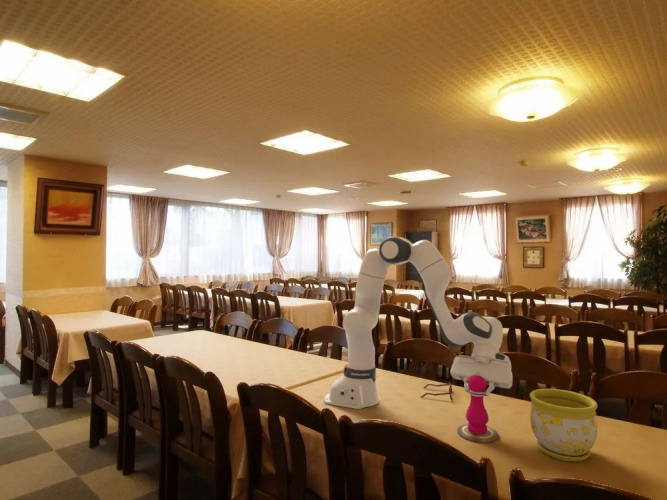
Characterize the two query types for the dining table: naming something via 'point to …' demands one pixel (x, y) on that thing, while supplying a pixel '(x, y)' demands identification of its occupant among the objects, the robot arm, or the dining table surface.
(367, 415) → the dining table surface
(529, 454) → the dining table surface
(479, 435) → the coaster
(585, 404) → the flowerpot
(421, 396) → the glasses
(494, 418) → the dining table surface
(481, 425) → the pepper mill
